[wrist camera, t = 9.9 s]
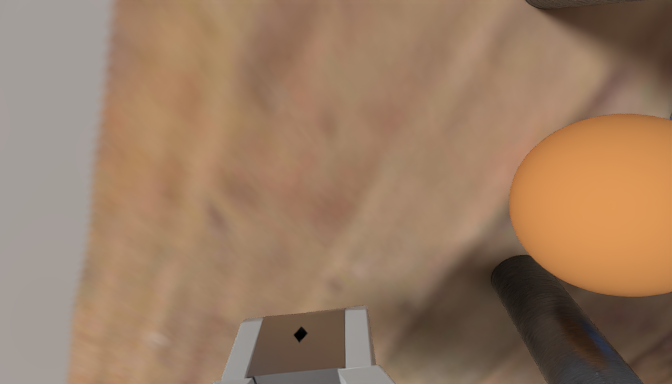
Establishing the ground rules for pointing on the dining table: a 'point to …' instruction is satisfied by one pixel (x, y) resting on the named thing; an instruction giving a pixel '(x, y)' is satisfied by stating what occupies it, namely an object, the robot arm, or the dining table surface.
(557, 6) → the near post
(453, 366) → the dining table surface
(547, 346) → the far post
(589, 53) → the dining table surface
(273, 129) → the dining table surface
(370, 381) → the robot arm
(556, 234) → the ball
